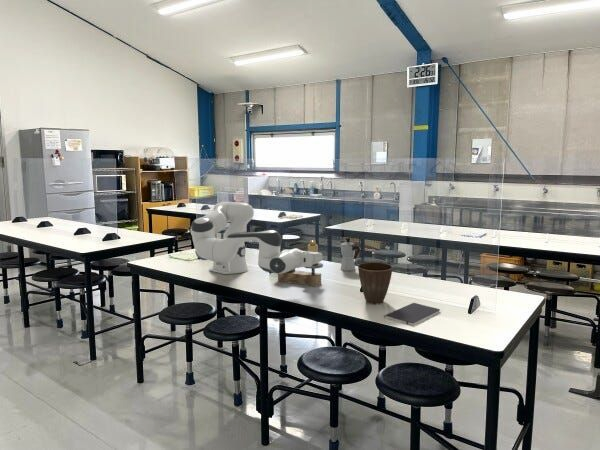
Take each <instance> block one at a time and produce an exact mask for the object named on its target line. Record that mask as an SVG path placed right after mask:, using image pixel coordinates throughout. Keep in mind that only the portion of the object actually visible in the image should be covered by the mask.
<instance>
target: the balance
mask: <svg viewBox="0 0 600 450" xmlns="http://www.w3.org/2000/svg"><path fill="white" fill-rule="evenodd" d="M323 267H324V263H322V262H319V263H318V265H316V266H312V267H304V268H305V269H310V270H311V271H305V270H304V271H303V270H296V268H295V269H292V270H291V271H289V272H286V273H281V274H277V281H278V282H283V283H291V284H298V285H306V286H312V287H317V286H319V285H321V284H322V273H321V272H320V273H318V272H316V269H321V268H323Z"/></svg>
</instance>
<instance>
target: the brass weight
mask: <svg viewBox="0 0 600 450" xmlns="http://www.w3.org/2000/svg"><path fill="white" fill-rule="evenodd" d="M316 242H317V241H316V240H314V239H313V240H309V244H307V251H308V252H318V253H319V245H318V244H317V243H316ZM316 265H318V263H317V264H313V265H312V266H316Z"/></svg>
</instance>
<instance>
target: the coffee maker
mask: <svg viewBox="0 0 600 450" xmlns="http://www.w3.org/2000/svg"><path fill="white" fill-rule="evenodd" d="M345 240H346V241H345V242H342V243H339V245H340V251H341V252H340V253H341V256H342V258H341V264H340V271H345V272H354V271H356V265H355V259H357V257H358V255H359V253H360V251H361V248H360V246H359V245H358V244H356V243H354V242H351V238H350V237H346V238H345Z"/></svg>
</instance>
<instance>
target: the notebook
mask: <svg viewBox="0 0 600 450" xmlns="http://www.w3.org/2000/svg"><path fill="white" fill-rule="evenodd" d="M440 311H441V309H440V308H436V307H432V306H429V305H425V304H421V303H420V304H419V303H416V302H412V303H410V304H407V305H405V306H403V307H400V308H398V309H396V310H394V311H391V312H389V313H387V314H384V318H385V319H389V320H391V321H392V320H393V321H396V322H400V323H403V324H405V323H406V325H411V326H415V325H416V324H419V323H421V322H423V321H424V320H426V319H428V318H431V317H432V316H435V315H437V314H439V313H440Z"/></svg>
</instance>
